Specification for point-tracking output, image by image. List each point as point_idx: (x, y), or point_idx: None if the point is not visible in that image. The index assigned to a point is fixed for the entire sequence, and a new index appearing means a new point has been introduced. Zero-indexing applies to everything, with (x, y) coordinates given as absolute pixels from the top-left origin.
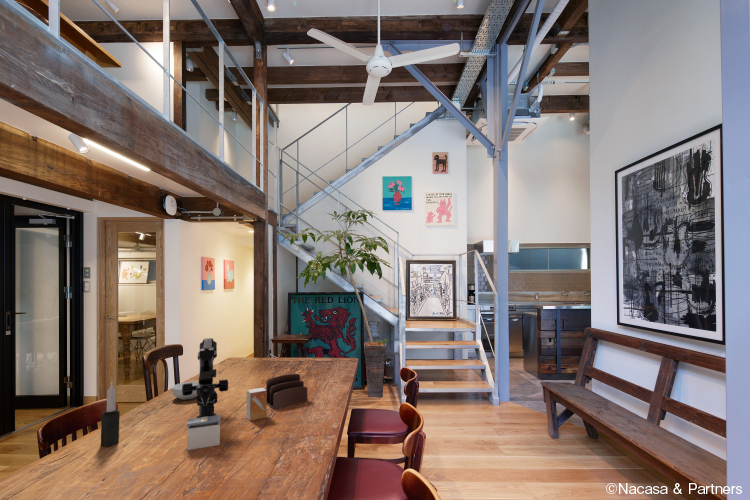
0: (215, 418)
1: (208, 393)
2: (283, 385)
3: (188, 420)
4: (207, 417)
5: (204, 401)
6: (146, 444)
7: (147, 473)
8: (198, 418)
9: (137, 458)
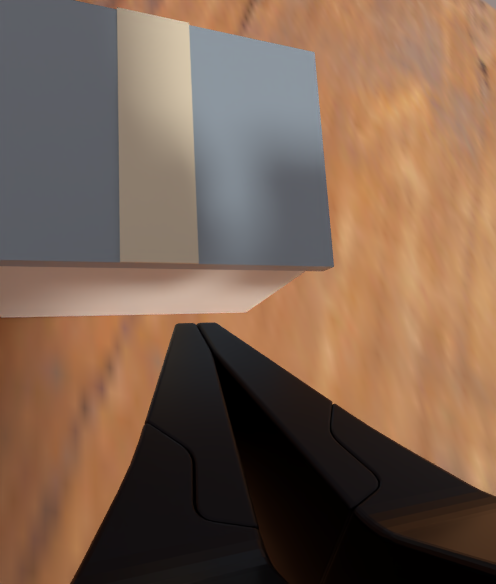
0: (10, 77)
1: (172, 506)
2: None
3: (324, 200)
4: (121, 193)
5: (228, 349)
6: (478, 376)
7: (355, 25)
8: (230, 227)
9: (448, 198)
